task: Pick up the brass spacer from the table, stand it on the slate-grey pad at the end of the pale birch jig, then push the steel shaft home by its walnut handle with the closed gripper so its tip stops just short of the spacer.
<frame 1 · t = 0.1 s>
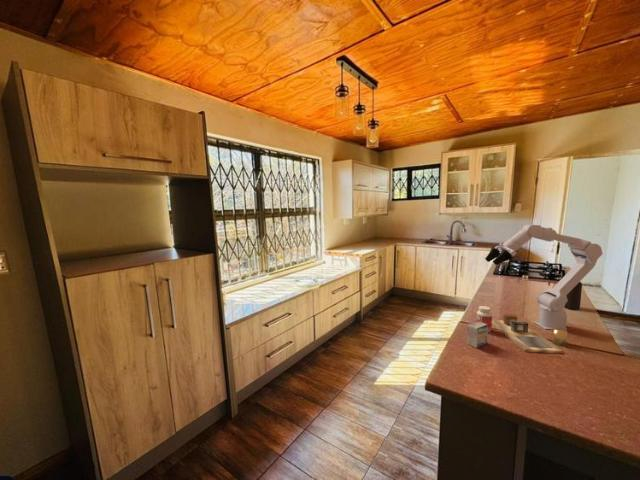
hand: (490, 261, 126), 32 cm above the counter, tool tilted 50°, fingers open, 7 cm apart
medicine box: (476, 344, 112), on the counter
vinegar: (571, 308, 147), on the counter
spacer: (559, 343, 110), on the counter
clamp jig: (522, 335, 118), on the counter
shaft: (514, 323, 123), point 3 cm above the counter, slide at 5.0 cm
pill bottle: (483, 329, 125), on the counter
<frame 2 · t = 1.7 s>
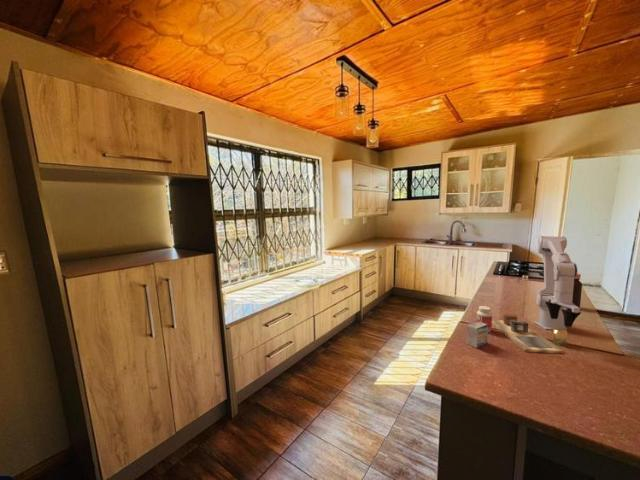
hand: (560, 322, 109), 9 cm above the counter, tool pointing down, fingers open, 7 cm apart
nothing on the counter moved.
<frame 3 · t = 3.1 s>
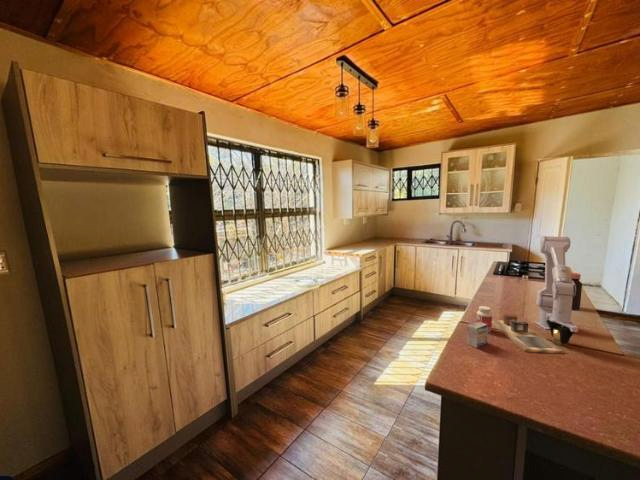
hand: (559, 340, 110), 1 cm above the counter, tool pointing down, fingers closed on spacer, 4 cm apart
spacer: (559, 343, 110), on the counter, touching gripper
everything else where it was.
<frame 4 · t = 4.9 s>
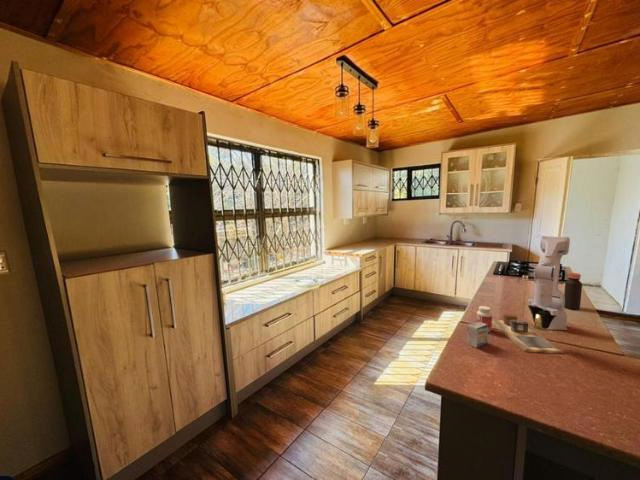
hand: (540, 325, 109), 9 cm above the counter, tool pointing down, fingers closed on spacer, 4 cm apart
spacer: (540, 328, 110), point 7 cm above the counter, touching gripper
everything else where it was.
when the fingers open (4 cm above the counter, at t = 6.9 s): spacer stays where it is, resting on clamp jig.
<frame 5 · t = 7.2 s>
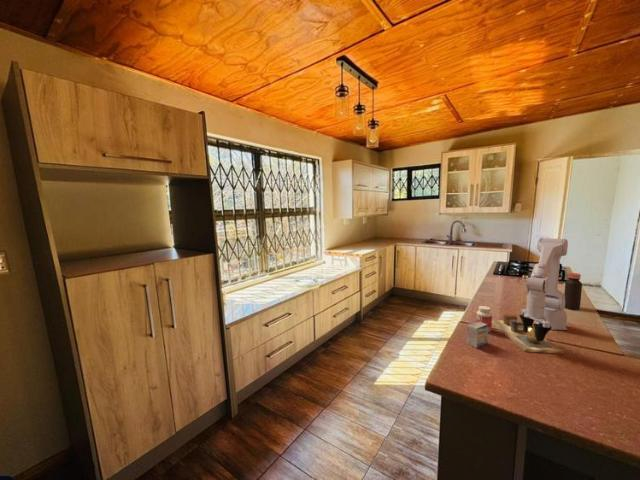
hand: (533, 336, 110), 4 cm above the counter, tool pointing down, fingers open, 7 cm apart
spacer: (533, 341, 110), point 1 cm above the counter, touching clamp jig
everything else where it was.
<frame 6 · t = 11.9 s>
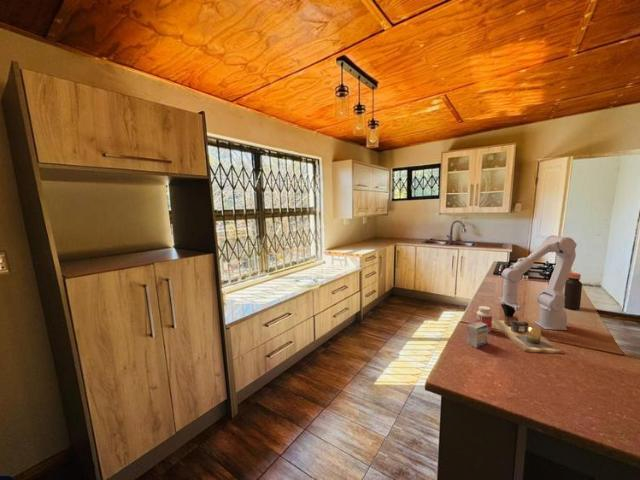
hand: (508, 319, 128), 3 cm above the counter, tool pointing down, fingers closed
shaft: (515, 323, 123), point 3 cm above the counter, slide at 4.2 cm, touching gripper
everything else where it was.
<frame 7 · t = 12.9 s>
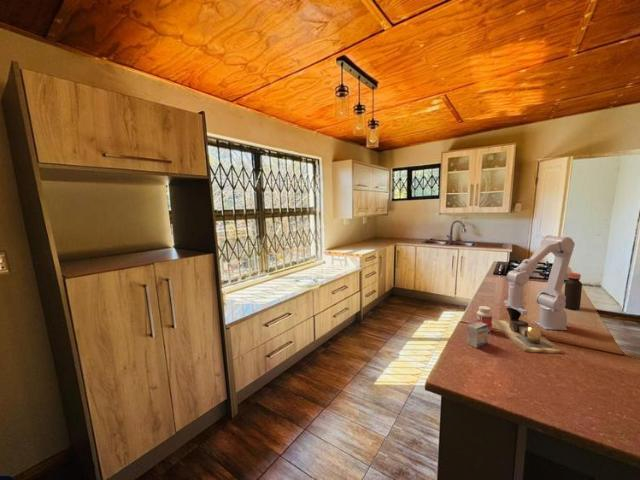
hand: (514, 323, 124), 3 cm above the counter, tool pointing down, fingers closed
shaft: (521, 327, 118), point 3 cm above the counter, slide at -0.1 cm, touching gripper
everything else where it was.
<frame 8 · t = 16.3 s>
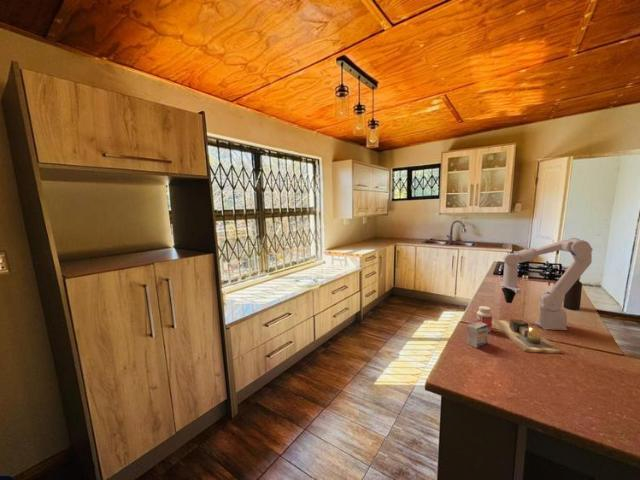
hand: (508, 302, 133), 9 cm above the counter, tool pointing down, fingers closed
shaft: (521, 327, 119), point 3 cm above the counter, slide at 0.0 cm
everything else where it was.
at the end: spacer 0.1 cm from the target spot, point 1.3 cm above the counter; spacer tilted 3°; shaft slide at 0.0 cm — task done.
